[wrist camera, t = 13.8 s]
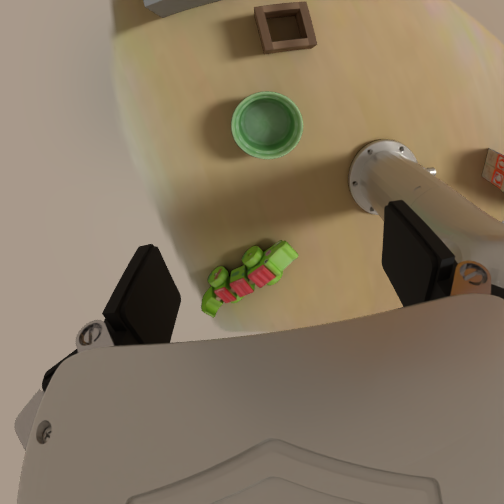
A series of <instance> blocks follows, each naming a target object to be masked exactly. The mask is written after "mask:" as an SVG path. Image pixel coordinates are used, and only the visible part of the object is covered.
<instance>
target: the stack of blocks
mask: <svg viewBox="0 0 504 504" xmlns="http://www.w3.org/2000/svg"><path fill="white" fill-rule="evenodd" d="M482 177H483V178H485V179H486V180H488V181H489V182H491V183H492V184H493V185H495V186H496V187H498V188H499V189H501V191H502V192H504V155H502V154H500V153H498V152H495V151H494V150H491V149H488V153H487V157H486V162H485V165H484V169H483V173H482Z"/></svg>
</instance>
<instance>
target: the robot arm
mask: <svg viewBox="0 0 504 504" xmlns="http://www.w3.org/2000/svg"><path fill="white" fill-rule="evenodd" d="M399 148H400V149H399ZM368 149H369V152H367V151H368ZM435 175H436V170H435V168H434V167H431V168H424V167H423V166H421V165H420V164H418V163H417V160H416V158H415V156H414V154H413V153H412V152H411V150H410V149H408V148H407V147H406V146H405V145H403V144H401V143H399V142H397V141H394V140H389V139H383V140H377V141H374V142H371V143H370V144H368V145H366V146H365V147H364V148H362V149H361V150H360V151H359V153H358V154H357V155H356V156H355V158H354V160H353V162H352V164H351V167H350V170H349V176H348V179H349V188H350V192H351V194H352V197H353V198H354V200H355V201H356V203H357V204H358V205H359V206H360V207H361V208H362V209H364V210H365V211H367V212H369V213H371V214H375V215H379V216H380V217H381V218H382V220H383V221H384V233H383V251H382V266H383V269H384V271H385V272H386V274H387V276H388V278H389V280H390V282H391V283H392V285H393V287H394V289H395V291H396V293H397V295H398V297H399V299H400V301H401V303H402V305H403V307H402V308H398V309H394V310H389V311H385V312H381V313H376V314H372V315H367V316H363V317H358V318H353V319H348V320H343V321H338V322H332V323H327V324H321V325H315V326H310V327H304V328H298V329H291V330H285V331H278V332H271V333H264V334H256V335H249V336H240V337H231V338H222V339H212V340H201V341H189V342H176V343H170V340H171V336H172V332H173V329H174V325H175V321H176V317H177V314H178V310H179V306H180V302H181V297H180V293H179V291H178V289H177V287H176V285H175V283H174V281H173V279H172V277H171V275H170V273H169V270H168V268H167V266H166V264H165V262H164V260H163V258H162V255H161V253H160V251H159V249H158V247H154V246H153V245H152V244H149V245H144V246H140V247H139V248H138V249H137V251H136V252H135V254H134V256H133V257H132V259H131V261H130V263H129V264H128V267H127V268H126V270H125V272H124V273H123V275H122V277H121V279H120V281H119V283H118V284H117V286H116V288H115V290H114V292H113V294H112V296H111V297H110V300H109V302H108V303H107V305H106V307H105V309H104V311H103V313H102V314H103V315H104V317H105V321H104V322H103V321H101V320H94V321H92V322H89V323H88V324H86V325H85V326H84V327H83V328H82V329H81V330H80V331H79V333H78V335H77V337H76V346H77V349H76V350H75V351H74V352H72V353H71V354H69V355H68V356H67V357H65V358H64V359H63V360H61V361H60V362H59V363H58V364H56V365H55V366H53V367H52V368H51V369H49V370H48V371H47V372H46V373H45V375H44V379H43V382H42V388H43V391H41V390H39V391H38V392H37V393H36V394H35V395H34V396H33V398H32V399H31V400H30V401H29V403H28V404H27V405H26V406H25V407H24V409H23V410H22V411H21V413H20V414H19V415H18V417H17V418H16V421H15V431H16V434H17V435H18V438H19V440H20V442H21V443H22V445H23V447H24V449H25V451H26V452H25V456H24V460H23V466H22V471H21V476H20V483H19V490H18V498H17V504H504V224H503V223H502V222H500V221H498V220H497V219H495V218H493V217H492V216H490V215H489V214H487V213H486V212H484V211H482V210H481V209H480V208H478V207H477V206H476V205H474V204H473V203H472V202H470V201H469V200H467V199H466V198H465V197H463V196H462V195H461V194H459V193H458V192H457V191H455V190H454V189H452V188H451V187H450V186H448V185H447V184H445V183H444V182H443V181H441V180H440V179H438V178H437V177H436V176H435ZM354 181H355V182H354ZM353 182H354V183H353ZM370 207H371V208H370Z"/></svg>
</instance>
